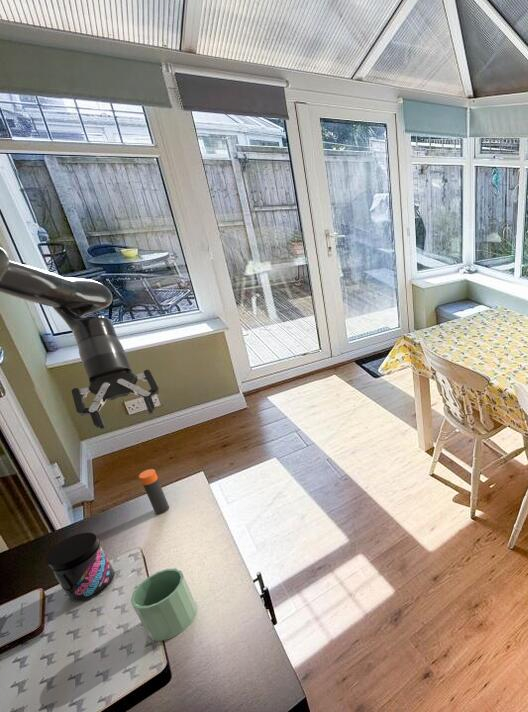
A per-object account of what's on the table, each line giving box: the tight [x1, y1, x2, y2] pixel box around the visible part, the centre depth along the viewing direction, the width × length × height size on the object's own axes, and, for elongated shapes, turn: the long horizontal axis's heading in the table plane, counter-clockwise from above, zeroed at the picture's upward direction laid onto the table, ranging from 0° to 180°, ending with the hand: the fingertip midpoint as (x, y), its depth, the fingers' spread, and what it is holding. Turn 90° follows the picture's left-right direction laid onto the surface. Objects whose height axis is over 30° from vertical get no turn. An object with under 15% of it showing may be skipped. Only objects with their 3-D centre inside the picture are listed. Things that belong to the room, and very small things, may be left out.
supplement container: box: [44, 532, 116, 602], centre depth 77 cm, size 7×7×10 cm
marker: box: [138, 468, 170, 515], centre depth 94 cm, size 3×3×11 cm
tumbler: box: [130, 567, 198, 642], centre depth 72 cm, size 7×7×9 cm
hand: (127, 420), depth 95 cm, fingers open, 8 cm apart
